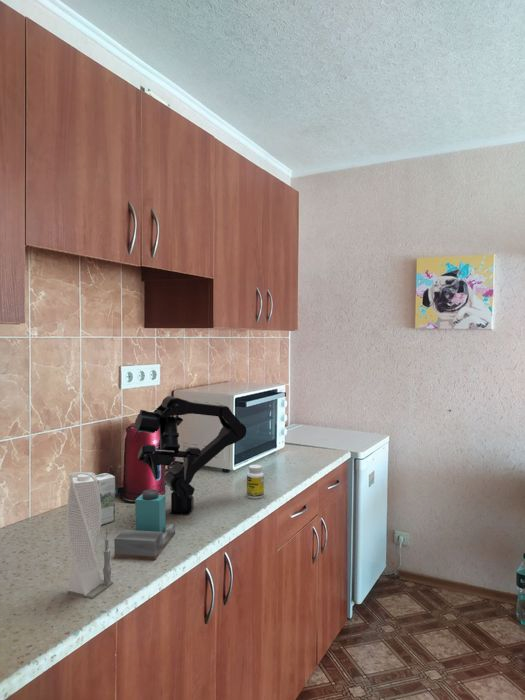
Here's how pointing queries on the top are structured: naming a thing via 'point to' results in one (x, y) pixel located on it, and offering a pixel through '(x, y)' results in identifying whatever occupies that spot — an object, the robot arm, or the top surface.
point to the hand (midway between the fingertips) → (171, 479)
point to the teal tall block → (150, 511)
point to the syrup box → (106, 497)
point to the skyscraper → (86, 536)
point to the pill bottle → (255, 482)
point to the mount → (142, 543)
